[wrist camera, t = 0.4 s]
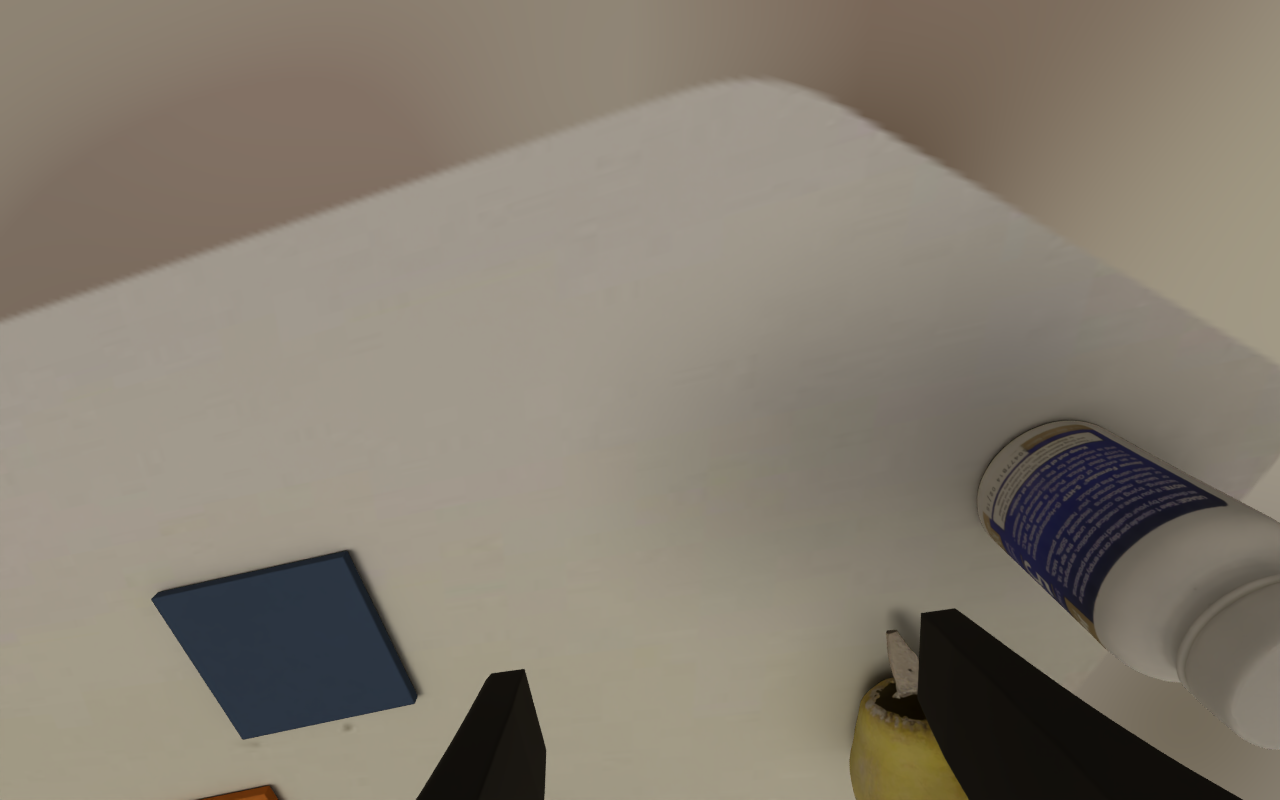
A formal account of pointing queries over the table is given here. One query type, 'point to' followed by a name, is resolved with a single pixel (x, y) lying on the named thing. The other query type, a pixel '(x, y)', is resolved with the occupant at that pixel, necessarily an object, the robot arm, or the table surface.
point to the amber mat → (248, 795)
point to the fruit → (898, 739)
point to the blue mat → (289, 645)
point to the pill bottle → (1147, 564)
